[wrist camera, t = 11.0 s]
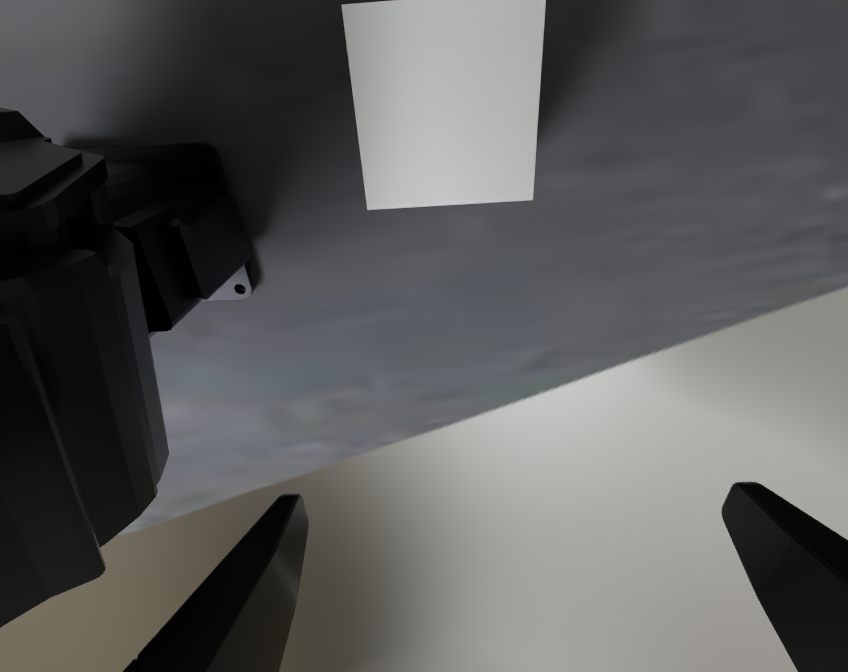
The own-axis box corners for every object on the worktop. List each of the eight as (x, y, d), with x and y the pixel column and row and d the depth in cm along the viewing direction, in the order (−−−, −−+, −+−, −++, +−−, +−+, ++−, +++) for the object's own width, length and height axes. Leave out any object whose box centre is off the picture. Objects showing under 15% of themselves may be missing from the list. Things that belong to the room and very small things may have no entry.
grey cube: (382, 179, 17) (367, 209, 13) (366, 28, 15) (341, 4, 11) (506, 171, 17) (532, 199, 13) (511, 17, 15) (546, -12, 10)
